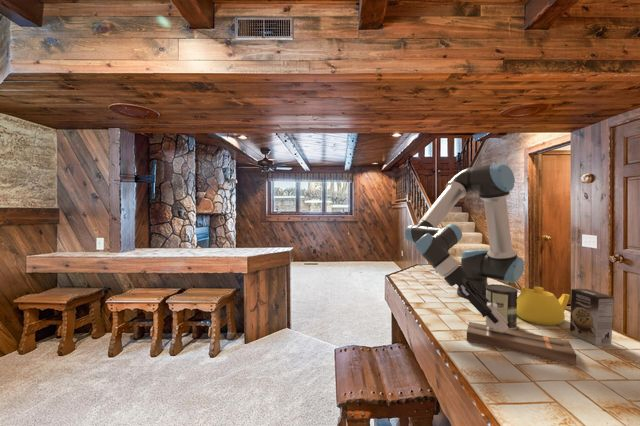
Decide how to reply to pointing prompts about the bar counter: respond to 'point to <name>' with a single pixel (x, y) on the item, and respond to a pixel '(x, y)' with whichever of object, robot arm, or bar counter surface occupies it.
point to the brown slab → (522, 343)
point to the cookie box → (591, 316)
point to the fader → (494, 308)
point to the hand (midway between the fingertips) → (504, 327)
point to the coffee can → (504, 302)
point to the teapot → (541, 306)
